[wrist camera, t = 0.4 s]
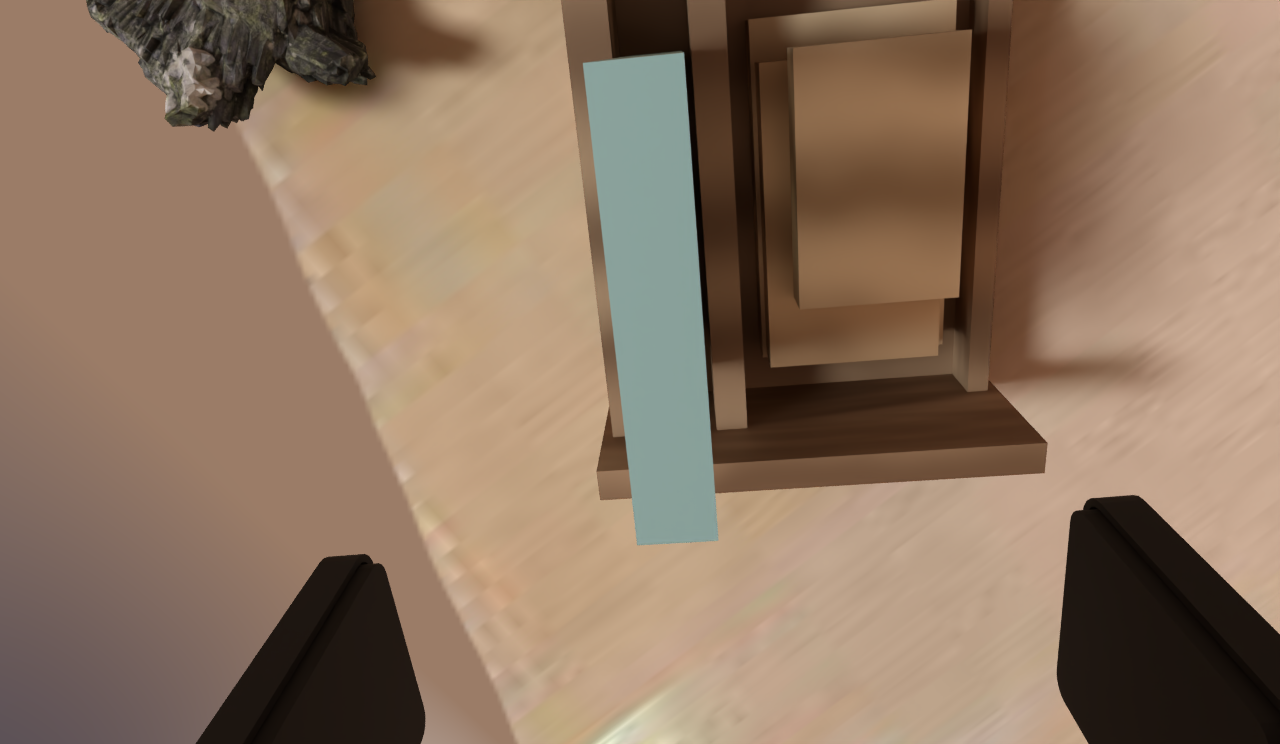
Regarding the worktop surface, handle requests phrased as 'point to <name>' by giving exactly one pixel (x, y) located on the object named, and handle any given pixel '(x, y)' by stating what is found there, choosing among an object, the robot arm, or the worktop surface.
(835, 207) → the offcut stack
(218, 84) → the mineral specimen
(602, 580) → the worktop surface
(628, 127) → the teal sheet
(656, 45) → the walnut rack
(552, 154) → the worktop surface
